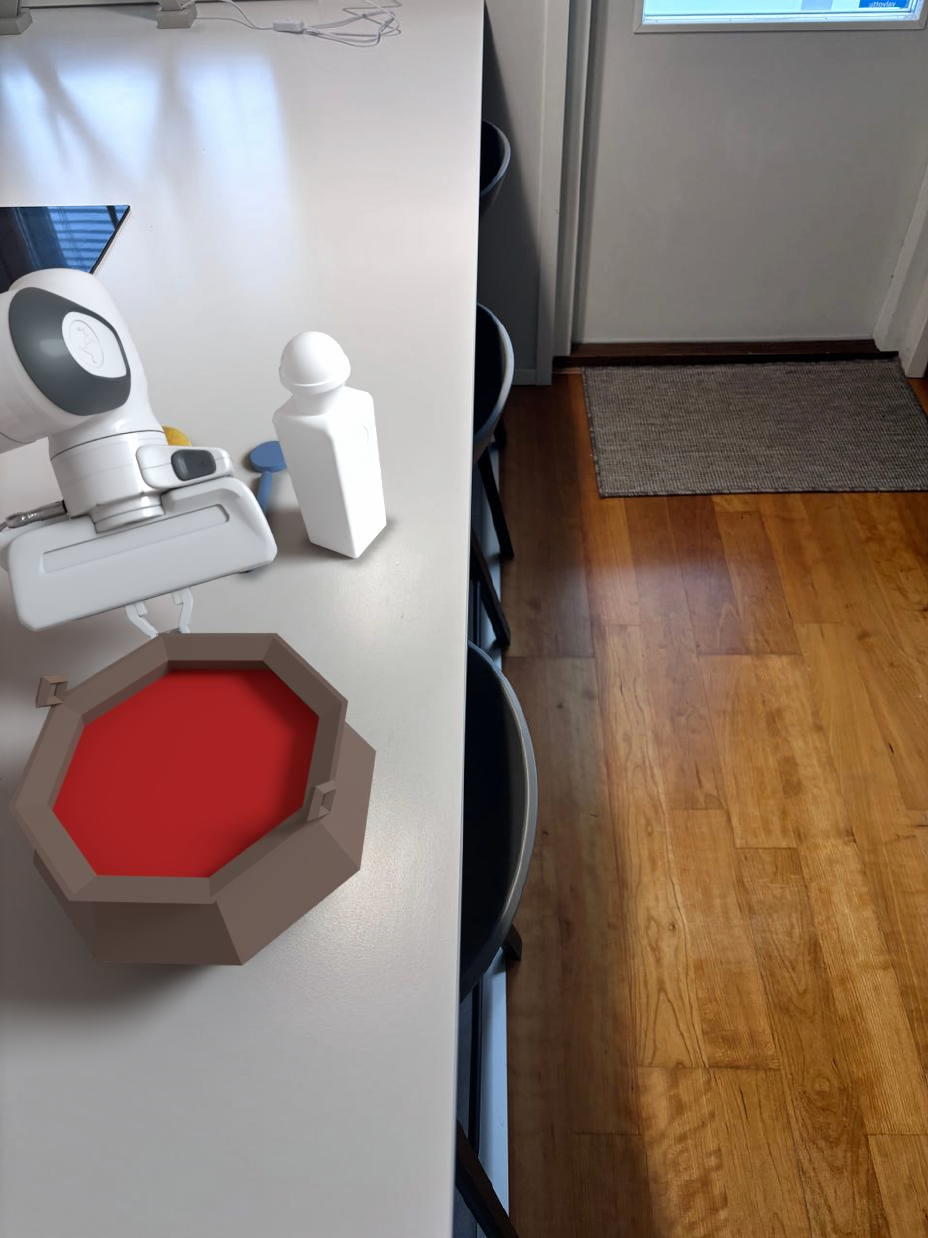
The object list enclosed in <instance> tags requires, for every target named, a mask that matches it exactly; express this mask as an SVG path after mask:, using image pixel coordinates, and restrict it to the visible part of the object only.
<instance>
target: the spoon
mask: <svg viewBox="0 0 928 1238" xmlns="http://www.w3.org/2000/svg"><path fill="white" fill-rule="evenodd" d="M249 458H250V462H251V465H252V467H253V468H254V469H255V470H256V471H257V472H260V473H261V475H260V480H259V484H258V489H257V495H256V500H257V502H258V504H259V506H260V508H261V510H262V512H263V514H264V516H265V517H266V515H267V510H268V506H269V499H270V494H271V489H272V483H273V480H274V479H273V478H274V476H273V473H278V472H281V471H283V470H285V469H287V466H286V462H285V459H284V456H283V453H282V450H281V446H280V443H279V440H269V441H265V442H262V443H260V444H258V445H256V446H255V447H254V448H253V449H252V450H251V452H250V456H249ZM255 569H256V568H253V569H249V570H246V571H247V572H252V571H254V570H255ZM246 571H245V572H246Z"/></svg>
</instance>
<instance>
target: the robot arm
mask: <svg viewBox="0 0 928 1238" xmlns="http://www.w3.org/2000/svg"><path fill="white" fill-rule="evenodd" d="M148 381H149V380H148V377H147V374H146V371H145V368H144V366H143V362H142V360H141V357H140V354H139V351H138V349H137V346H136V343H135V341H134V339H133V336H132V334H131V331H130V329H129V326H128V325H127V322H126V320H125V317H124V315H123V313H122V311H121V309H120V307H119V306H118V304H117V301H116V300H115V298H114V297H113V295H112V293H111V291H110V289H109V288H108V287H107V285H106V284H105V282H104V281H102V280H101V279H100V278H99V277H97V276H96V275H94V274H92V273H90V272H86V271H83V270H80V269H75V268H67V267H53V268H52V267H51V268H43V269H38V270H34V271H31V272H28V273H25V274H24V275H22V276H20V277H19V278H17V280H15V281H14V282H13V283H12V284H11V285H10V286H9V289H8V290H7V291H4V292H2V293H0V455H2V454H5V453H7V452H10V451H13V450H16V449H19V448H22V447H25V446H27V445H30V444H33V443H35V442H37V441H39V440H42V439H45V438H47V440H48V457H49V461H50V464H51V467H52V470H53V473H54V477H55V479H56V482H57V485H58V489H59V491H60V494H61V497H62V500H58V501H54V502H51V503H46V504H44V505H41V506H38V507H36V508H33V509H30V510H27V511H18V512H15V513H14V512H13V513H12V514H9V515H6V516H5V518H4V519H5V521H3V522H1V523H0V567H1V568H2V569H3V570H4V571H5V572H7V573H8V581H9V587H10V591H11V596H12V601H13V604H14V609H15V612H16V615H17V619H18V621H19V623H20V624H21V625H22V626H24V627H25V628H26V629H29V630H30V631H32V632H42V631H45V630H50V629H53V628H56V627H59V626H63V625H66V624H70V623H73V622H76V621H77V622H78V621H79V620H84V619H87V618H90V617H93V616H96V615H101V614H104V613H107V612H110V611H114V610H117V609H120V608H124V610H125V613H126V617H127V619H128V621H129V622H131V623H132V624H133V625H134V626H135V627H136V628H137V629H139V630H140V631H141V632H142V633H143V634H144V635H145V636H147V637H149V638H150V640H151V639H153V638H155V637H156V636H158V635H159V634H161V633H191V631H190V628H189V625H190V621H191V617H192V612H193V608H194V604H195V598H194V594H193V592H192V589H191V587H195V586H199V585H202V584H205V583H208V582H212V581H216V580H219V579H221V578H226V577H229V576H232V575H236V574H239V573H242V572H246V570H249V569H253V568H255V569H256V568H260V567H263V566H265V565H269V564H272V563H273V562H274V560H275V558H276V556H277V554H278V546H277V544H276V541H275V538H274V535H273V533H272V530H271V528H270V525H269V523H268V519H267V518H266V516H264V514H263V512H262V510H261V508H260V506H259V504H258V502H257V500H256V499H257V497H255V495H254V493H253V491H252V490H251V489H250V488H249V486H248V485H247V484H246V483H245V482H243V481H242V480H240V479H238V478H235V472H236V470H235V465H234V460H233V459H232V456H231V455H230V454H229V452H228V451H226V450H225V449H224V448H222V447H218V446H193V445H192V446H169V445H168V442H167V439H166V436H165V433H164V430H163V428H162V426H163V425H162V424H161V423H160V422H159V420H158V419H157V417H156V415H155V414H154V412H153V408H152V405H151V404H150V403H151V402H150V398H149V397H150V396H149V382H148ZM5 528H8V529H7V530H4V529H5ZM168 594H171V597H172V600H173V603H174V605H176V606H180V605H181V611H180V614H179V620H178V624H177V627H175V628H173V629H170V630H165V631H163V632H160V631H159V630H158V629H156V627H154V626H153V625H152V624H151V623H150V622H149V621H147V619H145V618H144V617H143V616H146V615H149V610H148V606H147V602H146V601H148V600H150V599H154V598H157V597H160V596H161V597H162V596H164V595H168Z"/></svg>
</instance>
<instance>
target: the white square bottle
mask: <svg viewBox="0 0 928 1238" xmlns="http://www.w3.org/2000/svg"><path fill="white" fill-rule="evenodd" d="M279 363H280V364H279V367H278V376H279V381H280V384H281V386H283V388H285V389H286V390H287V391H289V392H290V393H291V394H292V396H291V397H289V398H288V400H286V401H285V402H284V403H283V404H282V405H281V406H280V407H279V408H277V409H276V410H275V411H274V413H273V414H272V424H273V427H274V430H275V433H276V436H277V441H279V443H280V446H281V450H282V453H283V456H284V459H285V462H286V466H287V467H286V469H287V472H288V475H289V478H290V482H291V484H292V488H293V491H294V494H295V497H296V500H297V503H298V507H299V510H300V513H301V517H302V520H303V523H304V526H305V530H306V532H307V535H308V538H309V541H310V543H312V544H314V545H317V546H319V547H322V548H325V549H328V550H330V551H333V552H336V553H338V554H341V555H344V556H346V557H349V558H352V559H358V558H359V557H360V556H361V555H362V553H363V552H364V551H365V550H366V549H367V548H368V546H369V545H370V544H371V543H372V542H373V541H374V540H375V538H376V537H377V536H378V535H379V534H380V533H381V532H382V530H383V529H384V528H385V527H386V526H387V517H386V509H385V498H384V490H383V489H384V488H383V482H382V472H381V464H380V463H381V462H380V452H379V444H378V436H377V435H378V434H377V426H376V417H375V406H374V399H373V397H372V395H371V394H370V393H369V392H367V391H364V390H360V389H356V388H353V387H350V386H347V385H346V381H347V380H348V378H349V377H350V374H351V369H352V368H351V364H350V361H349V358H348V356H347V355H346V353H344V351H343V349H342V347H341V345H340V344H339V343H338V342H337V341H336V340H335V339H334V338H333V337H331V336H330V335H328V334H327V333H323V332H320V331H315V330H313V331H311V330H310V331H304V332H300V333H299V334H296V335H295V336H293V337H292V338H291V339H290V340H289V341H287V343H286V344H285V346H284V348H283V349H282V352H281V356H280V362H279Z"/></svg>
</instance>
